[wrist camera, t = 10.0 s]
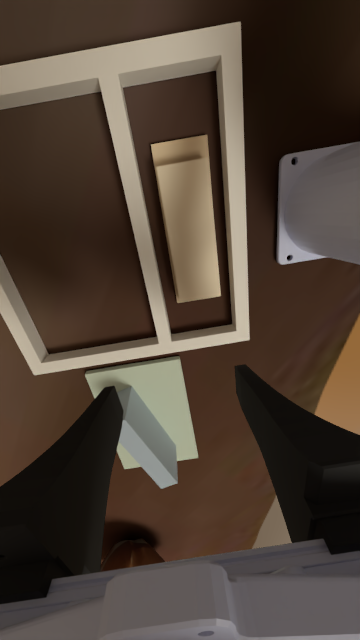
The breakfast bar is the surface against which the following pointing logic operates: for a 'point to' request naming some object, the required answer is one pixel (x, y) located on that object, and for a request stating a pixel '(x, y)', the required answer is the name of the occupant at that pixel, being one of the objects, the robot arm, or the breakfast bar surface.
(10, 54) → the breakfast bar surface
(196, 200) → the offcut upper
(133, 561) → the butternut squash
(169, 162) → the offcut lower
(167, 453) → the grey rectangular block
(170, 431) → the mat
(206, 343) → the rack
